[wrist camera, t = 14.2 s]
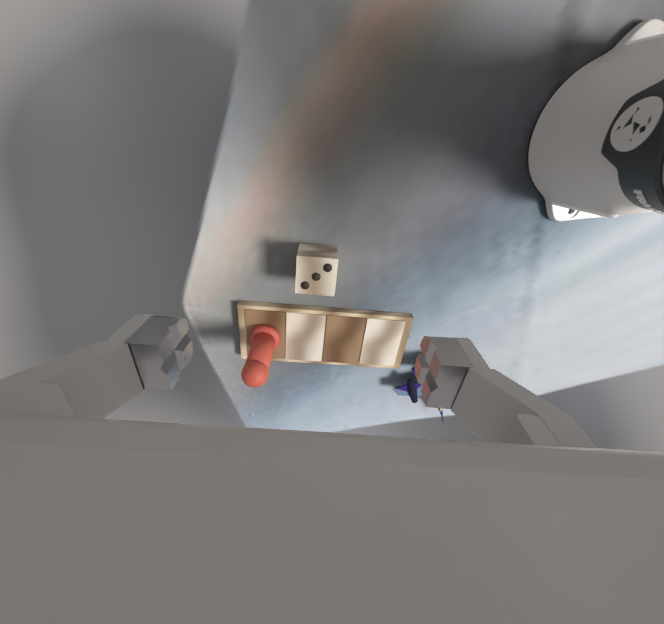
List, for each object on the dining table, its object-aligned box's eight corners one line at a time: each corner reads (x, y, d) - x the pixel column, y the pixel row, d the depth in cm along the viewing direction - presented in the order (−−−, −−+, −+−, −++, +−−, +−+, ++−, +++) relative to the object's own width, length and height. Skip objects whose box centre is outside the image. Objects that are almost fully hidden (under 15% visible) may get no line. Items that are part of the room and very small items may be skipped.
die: (337, 246, 39) (338, 259, 35) (333, 280, 42) (334, 296, 37) (299, 242, 39) (296, 255, 34) (298, 277, 41) (295, 293, 37)
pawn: (280, 325, 44) (270, 371, 35) (280, 348, 46) (270, 396, 37) (250, 323, 43) (233, 369, 35) (251, 346, 45) (235, 394, 37)
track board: (411, 313, 45) (413, 318, 43) (397, 363, 50) (399, 369, 48) (239, 300, 43) (236, 305, 42) (243, 353, 48) (241, 359, 47)
